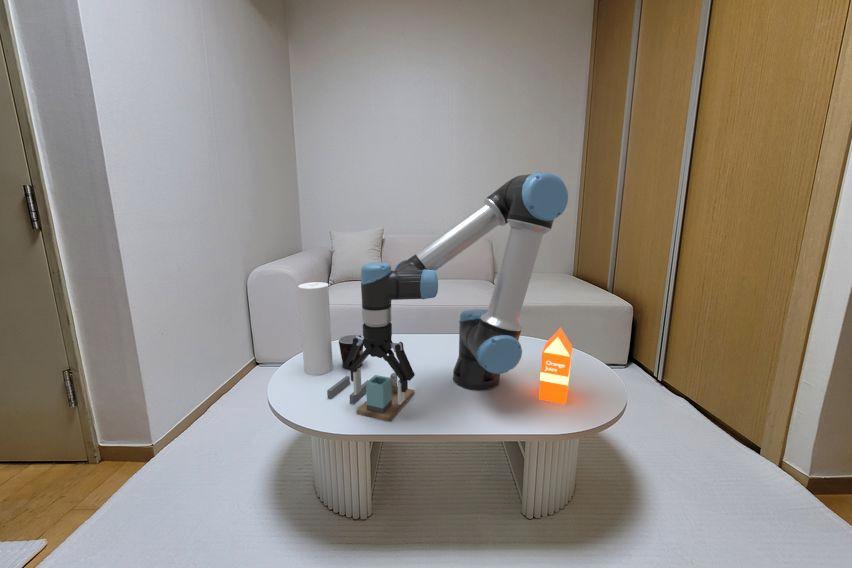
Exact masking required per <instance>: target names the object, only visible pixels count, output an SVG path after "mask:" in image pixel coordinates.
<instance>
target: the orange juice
mask: <svg viewBox="0 0 852 568" xmlns="http://www.w3.org/2000/svg"><path fill="white" fill-rule="evenodd" d="M572 352H573V345H572V344H571V342H570V341H569V339H568V337H567V335H566V334H565V332H564V331H563V329H562V327H559V328H558V330H557V331H556V332H555V333H554V334H553V335H552V336H551V337H550V338H549V339H548V340H547V341H546V342H545V344H544V347H543V349H542V353H541V365H540V375H539V376H540V377H539V391H538V400H541V401H547V402H552V403H555V402H556V403H557V404H560V403H561V405H565V404H566V405H567V399H568V393H569V384H570V374H571V373H570V372H571V365H572V364H571V363H572V359H573V358H572V354H573V353H572Z"/></svg>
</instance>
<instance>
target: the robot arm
mask: <svg viewBox="0 0 852 568" xmlns="http://www.w3.org/2000/svg"><path fill="white" fill-rule="evenodd" d="M568 193H569V192H568V188H567V186H566V184H565V183H564V181H563V180H562V178H561V177H559V176H558V175H557V174H554V173H552V172H541V171H539V172H533V173H529V174H521V175H518V176H515V177H513V178H510V179H509V180H507V181H506V182H505V183H504V184H502V185H501V186H500V187H498V189H495V191H493V192H492V193H491V194H490V195H488V196H487V197H486V198H484V200H483V204H482V205H481V206H479V207H478V208H477V209H474V210H473V211H472V212H471V213H470V214H468V215H467V216H466V217H464V218H463V219H461V220H460V221H459V222H457V223H456V224H454V225H453V226H452V227H451V228H449V229H448V230H446V231H445V232H444V233H442V234H441V235H439V236H438V237H437V238H435V239H434V240H433V241H431V242H430V243H428V244H427V245H426V246H424V247H423V248H422V249H420V250H419V251H418V252H417V253H415V254H414V255H412V256H411V257H409V258H408V259H405V260H402V261H399V262H398V263H397V264H396V266H395V268H394V270H392V268H391V267H392V266H391V264H390V263H389V262H377V261H376V262H367V263H365V264H364V265H362V266H361V268H360V273H361V274H360V276H361V277H360V288H361V290H360V291H361V315H362V316H361V317H362V318H361V319H362V320H361V321H362V323H363V324H362V335H359V334H358V335H359V336H357V337H355V338H354V339H353V346H352V348H351V350H350V353H349V355H348V357H347V360H346V362H345V364H344V368H346V369H345V370H347V368H348V369H349V370H348V371H349V372H350V382H352V383H353V384H352V385H353V392H354V395H357V394H358V393H359V392H360V391H361V385H362V370H361V368H358V367H359V366H360V365H361V363H363V362H364V361H365V360H366V359H367V358H368V357H369V355H370V357H372V358H375V357H377V358H379V359H382V358H383V360H384V361H385V362H387V363H388V365H389V366H390V368H391V370H392V371H393V373H395V374H396V375H397V379H398V380H397V386H398V404H399V405H401V404H402V402H403V401H404V400H405V392H406V391H407V389H409V388H408V385H409V384H408V383H409V381H411V380H412V379H413V378H414V377H415V376H416V374H415V372H414V370H413V368H412V365H411V363H410V361H409V359H408V357H407V354H406V352H405V349H404V343H403V342H402V341H399V342H393V341H392V337H393V327H392V326H393V325H392V320H393V319H392V301H393V300H394V301H398V300H400V301H401V300H426V299H427V300H428V299H433V298H435V297H437V295H438V290H439V278H438V274H437V270H439V269H441V268H442V267H443V266H445V265H446V264H447V263H449V262H450V261H452V260H453V259H455V257H457V256H459V254H461V253H463V251H465V250H466V249H468V248H470V246H472V245H473V244H474V243H476V242H477V241H479V240H480V239H481V238H483V237H484V236H486V235H487V234H489V233H490V232H491V231H493V230H494V229H495V228H497V227H498V226H500V227H504V226H505V225H506V224H508V225H509V227H510V230H509V232H508V236H507V240H506V245H505V247H504V251H503V255H502V258H501V262H500V265H499V268H498V273H497V276H496V280H495V284H494V288H493V291H492V295H491V298H490V300H489V301H490V302H489V306H488V309H482V308H481V309H478V308H477V309H476V308H475V309H467V310H464V311H462V312H460V315H459V321H458V324H459V328H458V329H459V331H458V332H459V334H458V335H459V336H458V342H459V343H458V356H457V360H456V362H455V365H454V368H453V371H452V379H453V382H454V383H455V384H456V385H457V386H460V387H461V388H463V389H467V390H471V391H487V390H488V391H489V390H491V389H494V388H495V387H498V386H499V385H500V382H501V375H502V374H505V373H508V372H509V371H510V370H514V369H515V368H516V367H517V365H518V364H519V363H520V362H521V359H522V356H523V348H522V344H521V343H520V341H519V339H520V336H521V332H522V328H523V327H522V325H521V324H520V323H519V319H520V315H521V312H522V308H523V306H524V302H525V298H526V294H527V292H528V288H529V284H530V281H531V277H532V274H533V271H534V268H535V264H536V260H537V257H538V253H539V251H540V246H541V244H542V239H543V237H544V235H546V234H547V233H549V232H551V231H552V227H553V223H554V220H556V218H559V217H560V216H561V215H562V214H563V213H564V212H565V211H566V208H567V206H568V202H569V201H568V200H569V194H568ZM361 336H363V337H364V338H361ZM362 343H363V348H365V350H363V353H362V355H361V356H360V357H359V358H358V359H357V361H356V362H355V363H354V364H353V362H354V359H355V357H356V355H357V353H358V350H359V348H360V346H361V345H362ZM394 352H395V353H394ZM344 368H343V369H344ZM357 368H358V369H357Z"/></svg>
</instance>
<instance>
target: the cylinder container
mask: <svg viewBox="0 0 852 568" xmlns="http://www.w3.org/2000/svg"><path fill="white" fill-rule="evenodd" d="M297 287H298V288H297V289H298V301H299V315H300V327H301V329H300V331H301V343H302V357H303V371H304V373H305V374H306V375H310V376H321V375H322V376H323V375H325V374H328V373H330V372H331V371H332V370H333V369H334V366H333V364H334V363H333V347H332V346H333V345H332V330H331V311H330V306H331V305H330V292H329V291H330V290H329V284H328V282H324V281H323V282H322V281H320V282H319V281H317V282H316V281H313V282H305V283H301V284H299V285H298V286H297Z"/></svg>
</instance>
